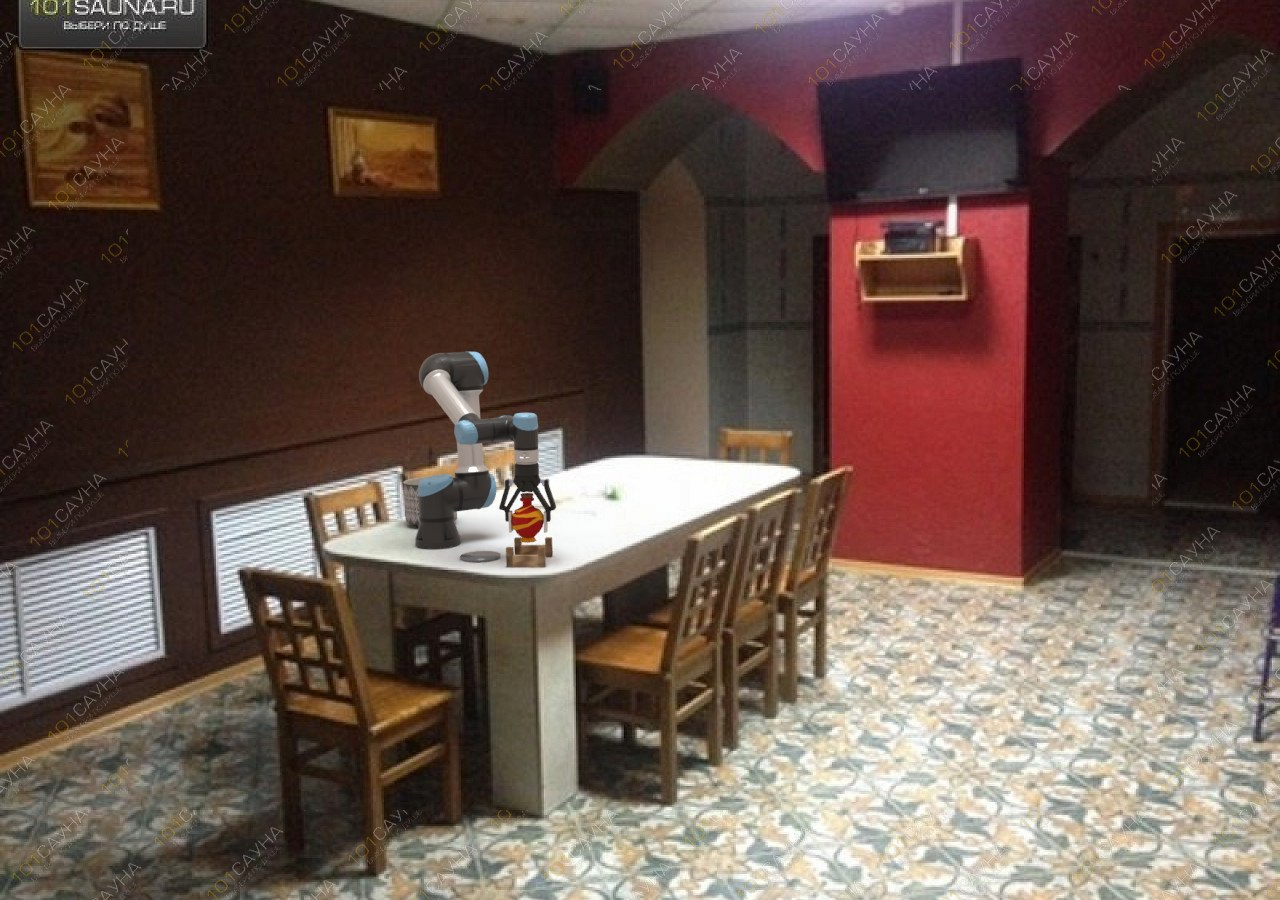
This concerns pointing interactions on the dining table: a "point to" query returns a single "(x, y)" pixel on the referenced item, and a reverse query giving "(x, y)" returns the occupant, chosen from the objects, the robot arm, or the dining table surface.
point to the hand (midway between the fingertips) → (528, 531)
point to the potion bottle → (527, 519)
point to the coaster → (480, 556)
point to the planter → (413, 501)
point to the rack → (528, 554)
